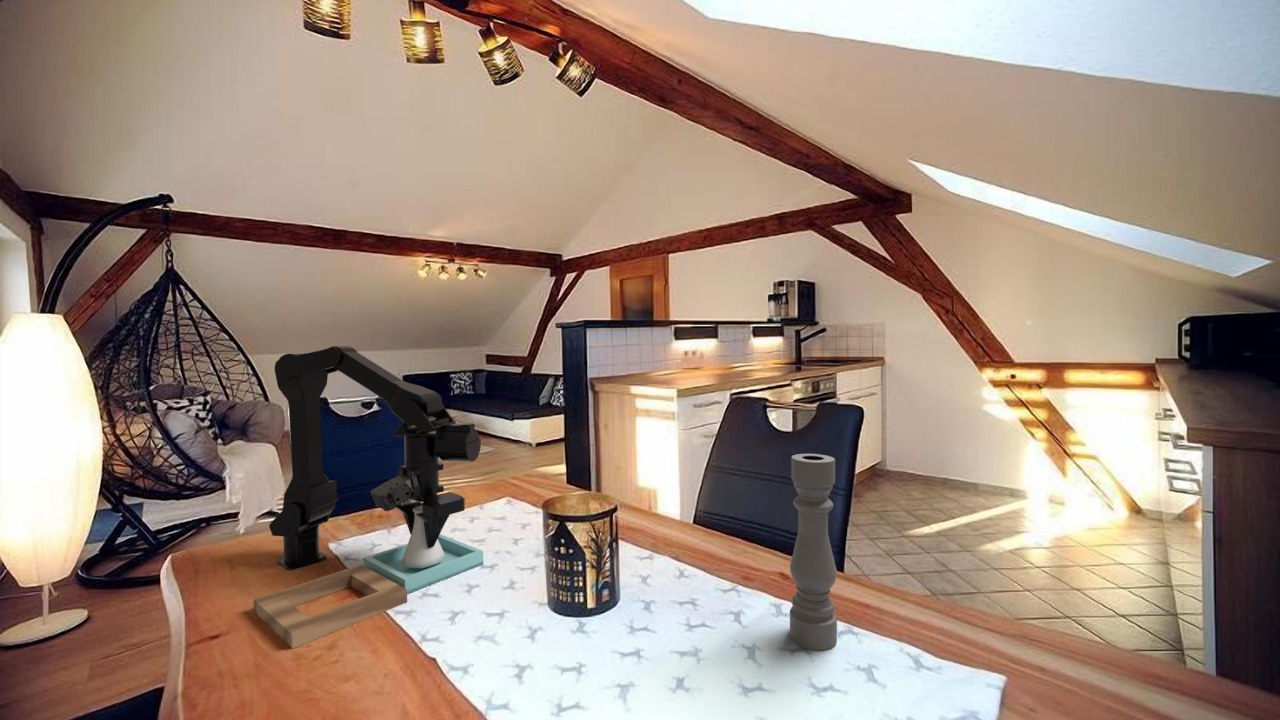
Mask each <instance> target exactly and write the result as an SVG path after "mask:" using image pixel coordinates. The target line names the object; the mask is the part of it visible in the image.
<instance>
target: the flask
mask: <svg viewBox="0 0 1280 720" xmlns="http://www.w3.org/2000/svg"><path fill="white" fill-rule="evenodd" d="M413 512H414V513H415V520H414V526H413V531H412V533H411V534H410V537H409V539H408V543H407V544H408V545H407V548H406V550H405V553H404V555H403V558H402V561H401V563H402V564H403V565H404V566H406V567H407V568H425V567H428V566H431V565H434V564H438V563H439V562H440V561H441V560H443V559H444V558H445V554H444V552H443V550H442V547H441V545H440V543H439V541H438V539H437V541H436V543H435V545H434V547H431V548H428V547H427V542H426V535H425V528H424V521H423V520H422V519H421V518H419V517H418V516H417V515H416V514H418V513H422V512H423V510H422V506H418V507H415V508H413Z"/></svg>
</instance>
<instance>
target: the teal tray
mask: <svg viewBox="0 0 1280 720" xmlns="http://www.w3.org/2000/svg"><path fill="white" fill-rule="evenodd" d="M438 541H439V543H440V545H441V547H442V550H443V552H444V554H445V558H444V559H443V560H441V561H440V562H439V563H438V564H434V565H431V566H428V567H425V568H407V567H406V566H404V565H403V564H402V563H401V561H402V558H403V555H404V553H405V550H406V548H407V545H408V543H405V544H402V545H399V546H397V547H393V548H390V549H386V550H384V551H380V552H377V553H374V554H371V555H368V556H365V557H363V558H362V559H363V560H362V561H363V564H362V565H363V566H365V567H367V568H369V569H371V570H372V571H374V572H376V573H378V574H380V575H381V576H383V577H385V578H387V579H389V580H390V581H392V582H394V583H396V584H398V585H399V586H401V587H403V588H405V589H407V595H408V594H412V593H414V592H417V591H420V590H422V589H424V588H426V587H427V588H428V587H429V586H432V585H434V584H437V583H440V582H443V581H444V580H447V579H450V578H452V577H455V576H457V575H460V574H462V573H465V572H467V571H470V570H472V569H475V568H478V567H480V566H482V565H484V551H483V550H482V549H480V548H476V547H474V546H471V545H468V544H466V543H465V542H461V541H459V540H456V539H454V538H452V537H448V536H447V535H443V534H441V533H440V535H439V537H438Z"/></svg>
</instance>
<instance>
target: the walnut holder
mask: <svg viewBox="0 0 1280 720" xmlns="http://www.w3.org/2000/svg"><path fill="white" fill-rule="evenodd" d="M350 587H352V588H353V589H355V590H357V591H358V592H359V593H361V594H363V595H364V596H363V597H361V598H358V599H354V600H352V601H349V602H347V603H344V604H342V605H339V606H337V607H333V608H330V609H328V610H326V611H323V612H320V613H318V614H315V615H312V616H309V617H308V616H307V615H305V614H304V613H303V612H302V611H300V610H299V608H297V606H299V605H302V604H305V603H308V602H311V601H313V600H316V599H319V598H321V597H322V598H323V597H325V596H327V595H330V594H333V593H336V592H339V591H342V590H346V589H348V588H350ZM406 603H408V594H407V589H405V588H403V587H401V586H399V585H398V584H396V583H394V582H392V581H390V580H389V579H387V578H385V577H383V576H381V575H380V574H378V573H376V572H374V571H372V570H371V569H369V568H367V567H365V566H363V564H358V565H355V566H352V567H349V568H347V569H343V570H340V571H337V572H334V573H331V574H328V575H324V576H322V577H321V576H320V577H318V578H315V579H311V580H309V581H306V582H302V583H300V584H297V585H293V586H291V587H288V588H284V589H281V590H279V591H275V592H272V593H268V594H266V595H265V594H264V595H263V596H259V597H257V598H253V612H254V614H255V615H256V616H257V617H259V618H260V619H261V620H262V621H263V622H264V623H265V624H266V625H267V626H268V627H269V628H270V629H271V630H272V631H273V632H274V633H275V634H277V636H278V637H280V639H282V640H283V642H284V643H286V644H287V645H288V646H289V647H290V648H291V649H296V648H297V647H300V646H302V645H305V644H307V643H310V642H312V641H315V640H317V639H320V638H322V637H325V636H327V635H330V634H333V633H334V632H337V631H339V630H342V629H344V628H347V627H349V626H351V625H355V624H357V623H359V622H361V621H364V620H368V619H369V618H371V617H374V616H376V615H378V614H381V613H384V612H386V611H388V610H391V609H393V608H395V607H396V608H397V607H399V606H401V605H403V604H406Z"/></svg>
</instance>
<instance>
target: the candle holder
mask: <svg viewBox="0 0 1280 720" xmlns="http://www.w3.org/2000/svg"><path fill="white" fill-rule="evenodd" d="M790 461H791V467H790V471H791V473H790V474H791V475H790V476H791V479H790V480H792V482H793V486H794V488H795V490H796V493H797V494H798V495H797V496H796V497H795V498H794V499H793V500H792V503H793V506H794V508H796V510H797V511H798V515H797V516H798V518H797V520H798V521H797V522H798V523H797V524H798V527H797V528H798V529H797V535H796V539H795V542H794V548H793V553H792V557H791V560H790V564H789V572H790V575H791V578H792V579H793V582H794V583H795V587H796V590H797V591H796V592H795V594H794V595H793V596H792V598H791V604H792V606H791V608H790V610H789V636H790V638H791V641H793V642H794V643H795V644H796V645H798V646H800V647H802V648H804V649H807V650H811V651H819V652H820V651H827V650H832V649H833V648H835V647H836V645H837V643H838V616H837V615H836V613H835V609H836V606H835V603H834V601H833V600H832V598H831V596H829V595H830V593H831V589H832V588H833V586H834V584H835V583H836V580H837V576H838V574H837V572H838V571H837V566H836V562H835V557H834V553H833V550H832V545H831V541H830V537H829V520H828V519H829V513H830V511H832V510H833V509H834V503H833V502H832V500H831V499H830V498H829V496H830V494H831V491H832V490H833V489H834V486H833V485H834V484H835V483H836V459H835V458H834V457H833V456H829V455H825V454H819V453H799V454H798V453H796V454H794V455H792V456H791V459H790Z"/></svg>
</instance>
